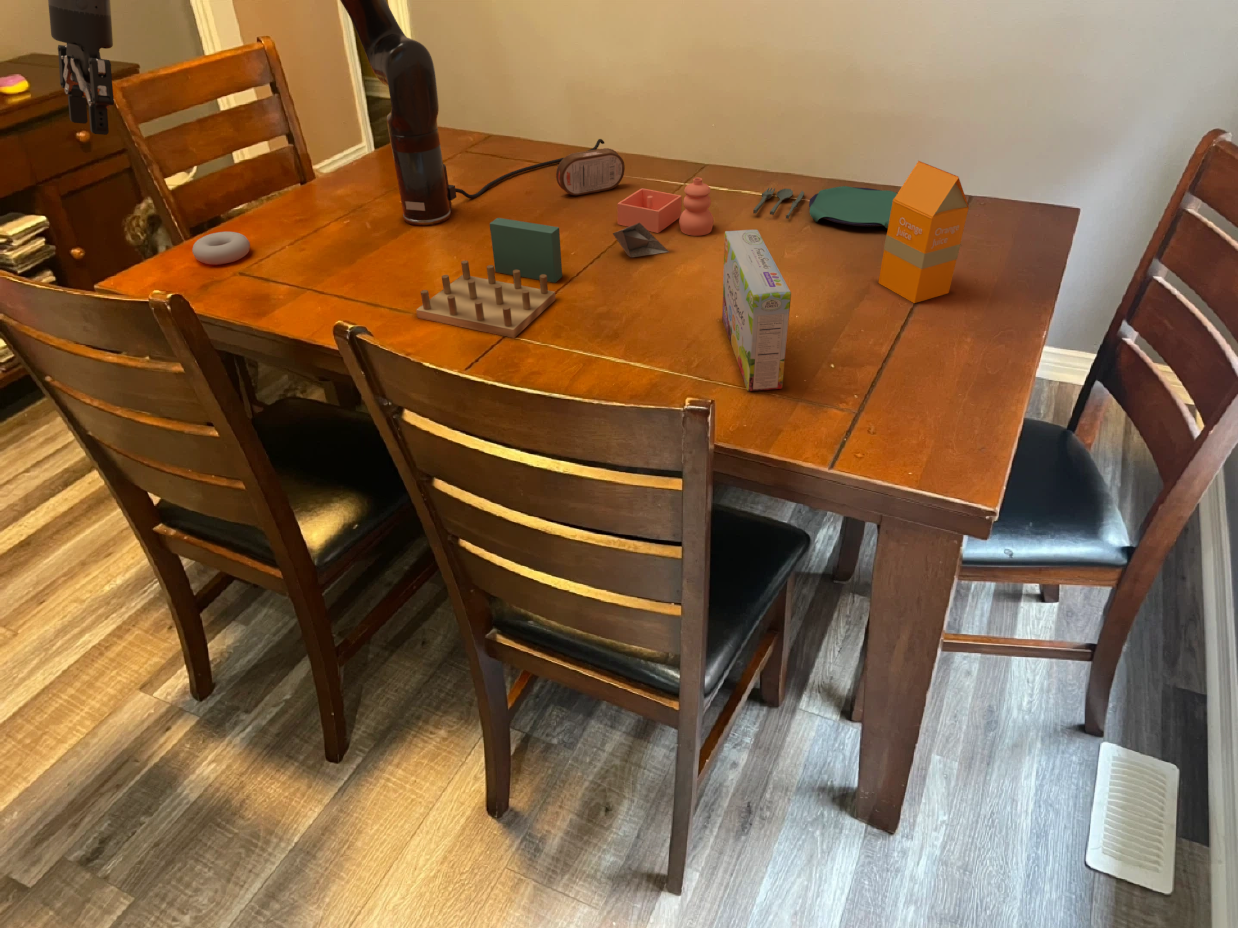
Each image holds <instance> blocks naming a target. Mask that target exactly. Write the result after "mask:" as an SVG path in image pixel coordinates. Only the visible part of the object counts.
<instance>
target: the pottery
mask: <svg viewBox="0 0 1238 928" xmlns="http://www.w3.org/2000/svg"><path fill="white" fill-rule="evenodd" d="M684 193H685V196H684V197H683V195H679V194H675V193H669V192H664V191H658V190H655V189H649V188H643V187H641V188H640V189H638V190H636V191H635V192H633V193H632V194H630V195H628V196H627V197H626V198H624V199H622V200H620V201H619V202H617V204H616V205H617V206H616V207H617V209H616V210H617V225H618V226H623V227H626V228H627V227H630V226H632V225H635V224H637V223H641V224H642V225H643V226H644V227H645V228H646V229H647V230H648V231H649V232H650V233H657V234H659V233H661V232H662V231H663V230H665V229H666V228H667V227H669V226H670V225H672V224H673V223H674V222H676V221H677V220H678V222H679V228H680V231H681V233H683V234H684V235H687V236H694V237H697V236H698V237H699V236H700V237H701V236H705V235H706V236H707V235H708V234H710V233H711V232H712V230H713V226H714V216H713V214H712V212H711V210H709V208H710V207H711V203H712V200H711V197H710V193H711V187H710V186H709V185H708V184H707V183H704V182H703V178H702V177H694V178H693V182H691V183H688V184H687V185H686V186H685V187H684ZM682 203H683V204H682ZM682 205H683V206H684V208H685V209H684V210H683V211H682Z"/></svg>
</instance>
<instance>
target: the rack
mask: <svg viewBox="0 0 1238 928" xmlns="http://www.w3.org/2000/svg"><path fill="white" fill-rule="evenodd" d="M460 264H461V273H462V275H460V276H459V277H457V278H456V279H455V280H453V281H452V282H451V281H450V276H449V274H443V275H441V282H442V290H440V291H439V292H438V293H436V294H435V295H434V296H432V297H431V298H430V293H429V290H428V289H422V290H421V291H420V296H421V302H422V304H421V305H420V306H419V307H418V308H416V309H415V311H416V317H417V318H418V319H421V320H427V321H431V322H436V323H439V324H444V325H445V324H446V325H450V326H456V327H460V328H465V329H469V330H475V331H479V332H483V333H489V334H492V335H493V334H494V335H499V336H504V337H508V338H512V339H513V338H514V339H515V338H516V337H518V335H519V334H521V333H522V332H523V331H524V330H525V329H526V328H528V326H529V325H530V324H531V323H533V322H534V321H535V319H537V318H538V317H539V316H540V315H541V314H542V313H543V312H544V311H545V310H547V308H549V306H551V304H553V303H555V301H556V291H554V290H549V288H548V287H549V286H548V285H549V284H548V282H547V275H544V274H542V275H540V276H539V277H540V280H539V288H536V287H533V286H532V287H531V286H527V285H526V286H525V285H522V277H521V276H520V270H513V275H512V278H513V279H512V280H513V283H510V282H504V281H500V280H496V274H495V273H496V272H495V265H494V264H489V265H487V266H486V273H487V278H484V277H478V276H472V275H471V272H470V265H469V261H468V260H465V259H464V260H461V262H460Z"/></svg>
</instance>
